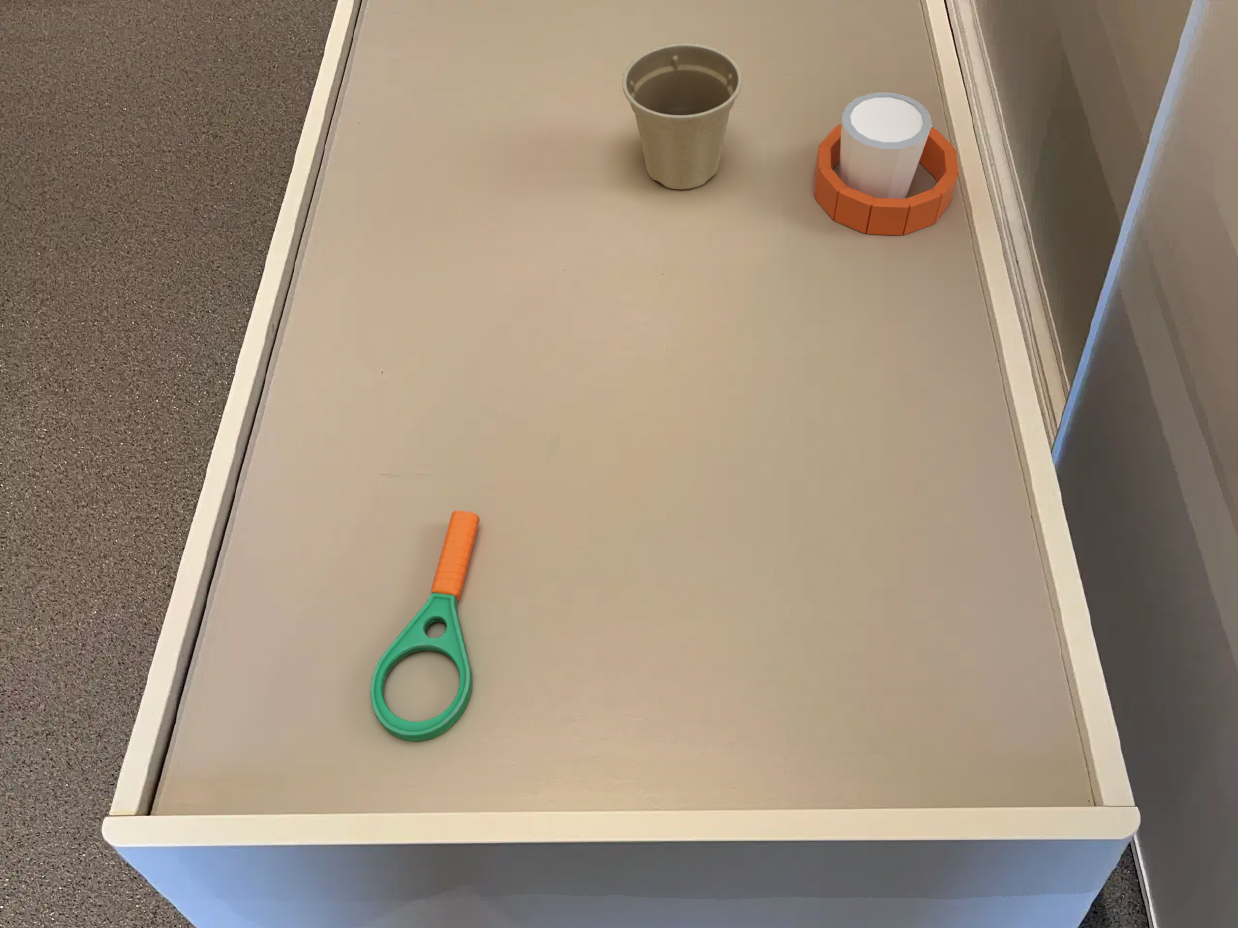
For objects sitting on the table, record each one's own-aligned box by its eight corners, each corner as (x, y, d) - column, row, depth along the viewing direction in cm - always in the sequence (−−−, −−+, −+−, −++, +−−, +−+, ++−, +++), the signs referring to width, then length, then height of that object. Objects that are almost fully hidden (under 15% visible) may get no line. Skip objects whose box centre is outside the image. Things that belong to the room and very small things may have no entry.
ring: (945, 146, 89) (952, 116, 87) (954, 237, 83) (963, 209, 81) (814, 142, 90) (818, 113, 88) (814, 232, 84) (818, 204, 82)
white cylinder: (855, 151, 90) (868, 80, 84) (929, 180, 87) (947, 109, 81) (815, 197, 87) (825, 127, 81) (891, 229, 84) (907, 159, 78)
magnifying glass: (458, 748, 62) (453, 738, 61) (360, 735, 63) (353, 725, 61) (512, 528, 70) (509, 515, 69) (425, 518, 71) (420, 505, 70)
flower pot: (607, 152, 91) (601, 65, 84) (702, 117, 93) (704, 29, 86) (659, 218, 86) (657, 132, 79) (758, 179, 88) (765, 92, 81)
